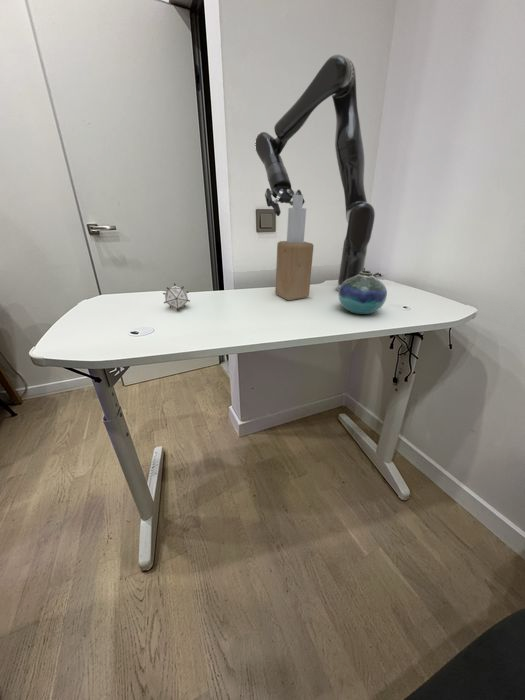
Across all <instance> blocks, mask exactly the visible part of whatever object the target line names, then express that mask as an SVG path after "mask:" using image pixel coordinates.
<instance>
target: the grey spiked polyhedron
mask: <svg viewBox="0 0 525 700" xmlns="http://www.w3.org/2000/svg"><path fill="white" fill-rule="evenodd" d="M166 289H167V290H166V291H165V292H162V295H164V300H165V301H163V304H167V305H168V306H169V308H170V309H171V308H174V309H176V311H177V312H179V311H180V309H181V308H182V307H186V304H187V302H188V303H190V302H191V300H190V299H189V298H188V294H189V290H188V291H186V290H185V289H184V285H183V286H179V285H176V283H173V286H171V287H168V286H167V287H166Z"/></svg>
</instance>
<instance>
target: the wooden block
mask: <svg viewBox="0 0 525 700" xmlns="http://www.w3.org/2000/svg"><path fill="white" fill-rule="evenodd" d="M314 247H315V246H314V244H313V243H312V242H308V241H304V242H303V243H288V242H287V240H279V241H278V242H277V245H276V266H275V267H276V268H275V269H276V270H275V290H274V291H275V295H277V296H279V297H281V298H283V299H285V300H286V301H295V300H300V299H307V298H309V296H310V286H311V277H312V268H313V267H312V266H313V256H314Z"/></svg>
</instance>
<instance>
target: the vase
mask: <svg viewBox="0 0 525 700" xmlns="http://www.w3.org/2000/svg"><path fill="white" fill-rule="evenodd" d="M373 275H374V274H373V271H370V270H365V271H360V272H359V274H358V275H355V276H353V277H351V278H349V279H347V280H345V281H344V282H343V283H342V284H341V286H340V288H339V291H338V301H339V303H340V305H341V307H342V308H343V309H344V310H346V311H348V312H349V313H353V314H357V315H370V314H373V313H376V312H377V311H379V310H380V309H381V308H382V307H383V306H384V304H385V302H386V300H387V297H388V290H387V287H386V285H385V284H384V283H383V281H382V280H380V279H379V278H377V277H376V276H373Z"/></svg>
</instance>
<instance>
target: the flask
mask: <svg viewBox="0 0 525 700" xmlns="http://www.w3.org/2000/svg"><path fill="white" fill-rule="evenodd" d="M303 198H304V194H302V195H293V198H292V200H293V205H292V207H288V209H287V211H288V212H287V232H286V241H287V242H288V243H303V242H305V241H304V240H305V231H306V230H305V229H306V217H307V208H306V207H303V206H302V204H303ZM303 205H304V204H303Z"/></svg>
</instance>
